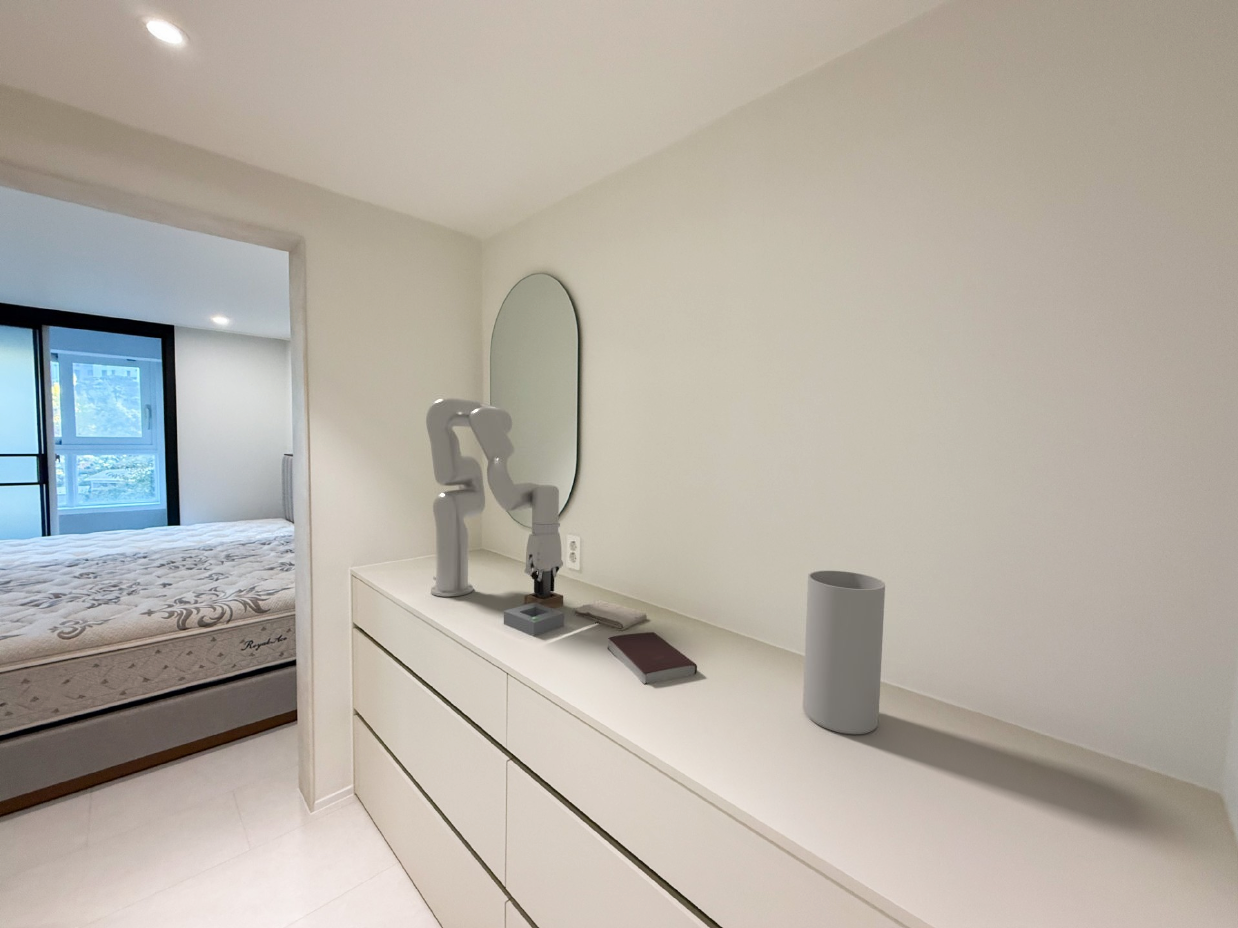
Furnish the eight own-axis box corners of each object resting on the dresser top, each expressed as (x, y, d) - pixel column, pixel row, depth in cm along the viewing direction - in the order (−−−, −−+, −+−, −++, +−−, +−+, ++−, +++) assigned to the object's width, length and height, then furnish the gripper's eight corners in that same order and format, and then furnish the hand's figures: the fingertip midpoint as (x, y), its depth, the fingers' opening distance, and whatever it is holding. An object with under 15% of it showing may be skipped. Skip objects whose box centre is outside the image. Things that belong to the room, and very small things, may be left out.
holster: (524, 607, 149) (524, 595, 149) (545, 601, 155) (545, 589, 155) (542, 613, 144) (542, 601, 144) (563, 607, 150) (563, 595, 149)
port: (503, 626, 134) (503, 609, 134) (533, 616, 141) (534, 600, 141) (533, 638, 126) (533, 620, 126) (563, 627, 133) (564, 611, 133)
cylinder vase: (849, 697, 101) (855, 569, 99) (894, 733, 88) (901, 588, 87) (789, 701, 98) (795, 571, 97) (827, 739, 86) (833, 590, 85)
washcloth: (597, 607, 152) (597, 596, 152) (648, 620, 142) (649, 609, 142) (570, 617, 143) (570, 606, 143) (623, 633, 132) (623, 621, 132)
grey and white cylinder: (534, 605, 149) (534, 563, 148) (544, 602, 152) (545, 561, 151) (543, 608, 146) (543, 566, 146) (553, 605, 149) (554, 564, 149)
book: (654, 642, 126) (654, 629, 126) (697, 676, 109) (697, 661, 109) (606, 650, 121) (607, 636, 121) (643, 687, 104) (644, 671, 104)
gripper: (557, 523, 157) (556, 583, 158) (513, 530, 144) (512, 595, 145) (575, 527, 152) (574, 588, 153) (530, 534, 139) (529, 601, 140)
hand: (544, 591), depth 149 cm, fingers closed on grey and white cylinder, 3 cm apart
